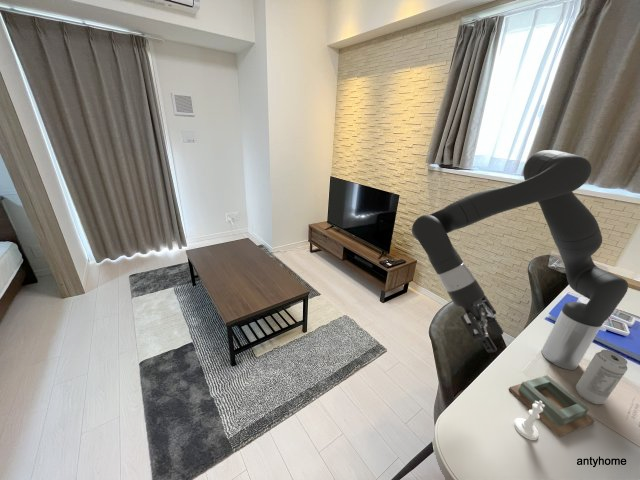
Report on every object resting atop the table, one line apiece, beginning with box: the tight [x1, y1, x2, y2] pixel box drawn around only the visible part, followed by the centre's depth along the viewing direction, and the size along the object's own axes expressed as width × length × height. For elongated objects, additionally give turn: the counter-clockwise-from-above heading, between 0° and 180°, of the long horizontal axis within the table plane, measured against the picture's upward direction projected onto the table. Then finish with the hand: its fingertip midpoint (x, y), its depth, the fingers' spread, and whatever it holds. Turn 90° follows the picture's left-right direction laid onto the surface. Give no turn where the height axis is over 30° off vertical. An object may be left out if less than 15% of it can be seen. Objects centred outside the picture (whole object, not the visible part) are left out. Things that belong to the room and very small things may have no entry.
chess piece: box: [513, 400, 545, 441], centre depth 61 cm, size 5×5×10 cm
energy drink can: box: [575, 349, 628, 405], centre depth 71 cm, size 6×6×15 cm
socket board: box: [508, 374, 595, 438], centre depth 69 cm, size 13×13×4 cm
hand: (496, 342), depth 63 cm, fingers open, 8 cm apart
